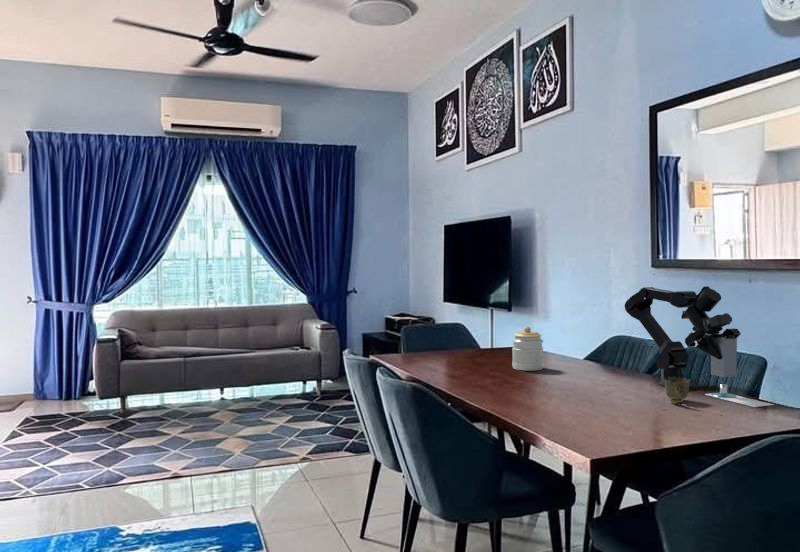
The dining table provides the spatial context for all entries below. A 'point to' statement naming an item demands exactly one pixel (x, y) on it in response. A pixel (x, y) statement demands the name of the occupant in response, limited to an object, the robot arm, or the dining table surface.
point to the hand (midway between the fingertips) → (727, 358)
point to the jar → (527, 351)
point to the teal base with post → (723, 392)
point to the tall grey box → (725, 357)
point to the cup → (676, 389)
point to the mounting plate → (745, 401)
